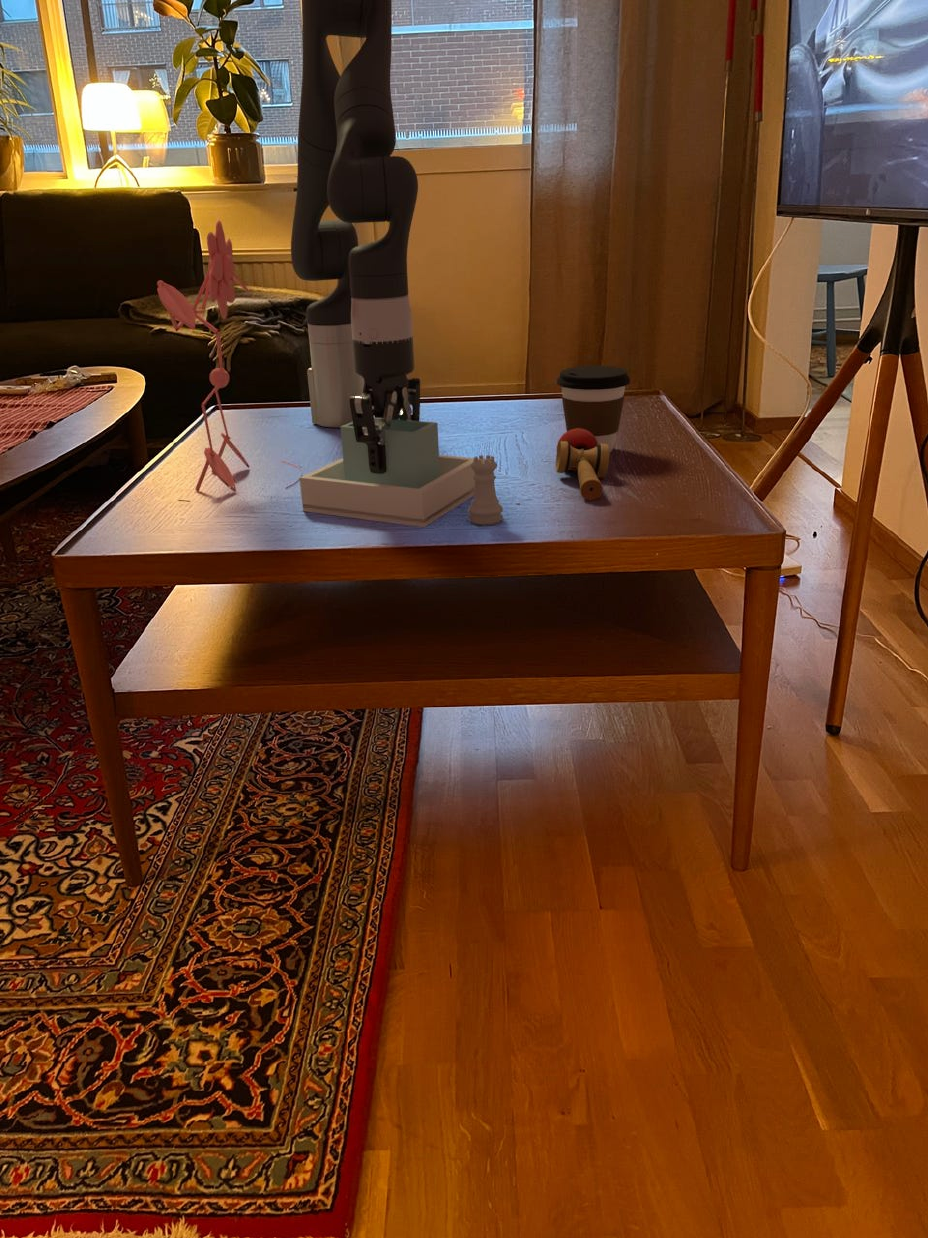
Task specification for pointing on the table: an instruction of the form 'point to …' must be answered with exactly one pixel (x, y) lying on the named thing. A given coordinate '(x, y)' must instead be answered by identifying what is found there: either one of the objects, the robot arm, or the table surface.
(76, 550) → the table surface
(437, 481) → the beige tray
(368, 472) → the teal tote
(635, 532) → the table surface
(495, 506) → the rook chess piece
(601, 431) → the coffee cup
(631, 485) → the table surface
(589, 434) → the kendama
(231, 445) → the pink thin branched figure
